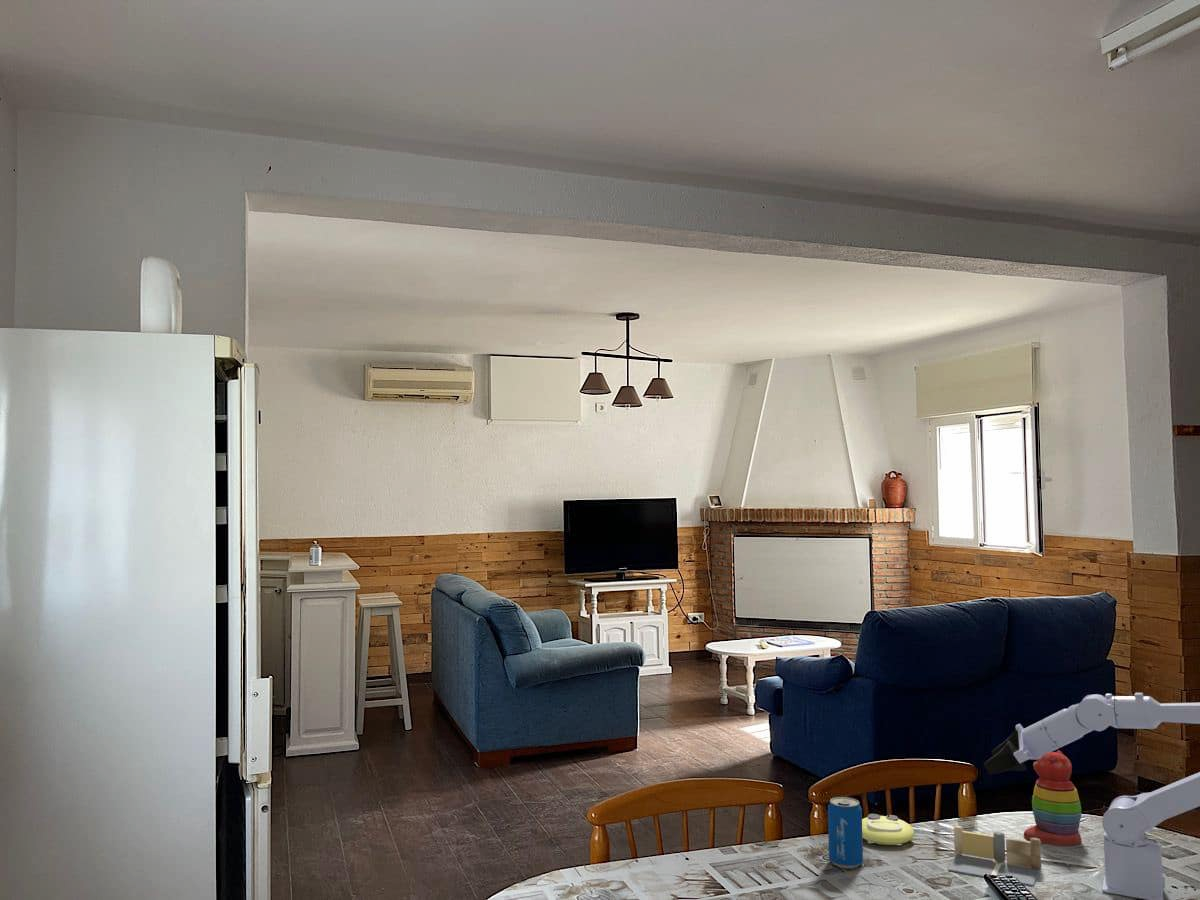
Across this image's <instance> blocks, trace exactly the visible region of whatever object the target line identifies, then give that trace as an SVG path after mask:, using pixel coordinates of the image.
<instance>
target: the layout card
mask: <svg viewBox="0 0 1200 900" xmlns="http://www.w3.org/2000/svg"><path fill="white" fill-rule="evenodd" d="M947 871H948V872H953V873H957V874H963V875H968V876H974V877H980V878H984V875H985V874H994V875H1011V876H1013V877H1015V878H1017V879H1018V880H1019V881H1020V882H1021V883H1022V884H1021V885H1024V886H1029V887H1034V886H1035V883H1036V881H1037V878H1038V874H1039V871H1040V870H1035V869H1032V868H1029V867H1024V866H1018V865H1012V864H1007V858H1006V855H1005V861H1004V862H1000V861H996V860H994V859H988V858H983V857H977V856H971V855H965V854H955V857H954V858H953V860H952V862H951V864H950V865H949V866H948V868H947Z"/></svg>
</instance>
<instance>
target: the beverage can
mask: <svg viewBox="0 0 1200 900" xmlns="http://www.w3.org/2000/svg"><path fill="white" fill-rule="evenodd" d="M862 819H863V809H862V807H861V805H860V801H859V800H858V799H856V798H853V797H848V796H839V797H838V796H837V797H832V798H830V800H829V804H828V805H827V823H828V824H827V825H828V826H827V828H828V833H827V834H828V835H827V836H828V860H829V861H830V862H831V863H832V864H833V866H835V865H836V866H835V867H837V866H838V867H837V868H840V867H842V868H841V869H847V868H851V869H855V867H856V868H858V867H859V866H860V865H862V864H863V862H864V850H863V848H864V847H863V846H864V845H863V839H864V838H862ZM857 866H858V867H857Z"/></svg>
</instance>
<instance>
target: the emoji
mask: <svg viewBox="0 0 1200 900" xmlns="http://www.w3.org/2000/svg"><path fill="white" fill-rule="evenodd" d="M888 815H889V817H888ZM888 815H885V816H884V815H880V814H877V813H869V814H868V815H867V817H864V818H862V830H863V831H862V839H864V840H865V841H867V842H868V841H870V842H873V843H877V844H876V845H884V846H885V845H886V846H898V845H897V844H902V843H903V844H905V843H907V842H909V841H911V840H913V838H914V835H915V830H914V828H913V826H911V824H909V823H907V822H906V821H904V820H902V819H900V818H899V817H898V816H897V815H893V814H888Z"/></svg>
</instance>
